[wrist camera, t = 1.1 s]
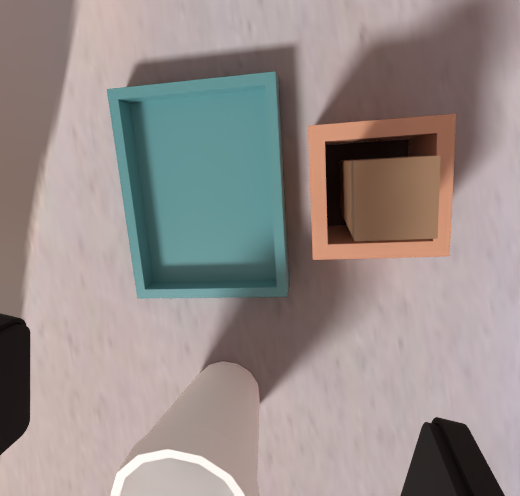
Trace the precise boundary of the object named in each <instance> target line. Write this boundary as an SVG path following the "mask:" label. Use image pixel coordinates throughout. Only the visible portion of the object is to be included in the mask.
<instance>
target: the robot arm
mask: <svg viewBox="0 0 520 496" xmlns="http://www.w3.org/2000/svg"><path fill="white" fill-rule="evenodd" d="M29 422H30V329H29V328H28V327H27V326H26V323H25V321H24V320H23V319H21V318H17V317H13V316H9V315H4V314H0V455H1V454H2V453H3V452H4V451H5V450H6V449H8V448H9V447H10V446H11V445H12V444H13V443H14V442H15V441H16V440H18V439H19V438H20V437H21V436H22V435H23V434H24V432H25V431H26V429H27V427H28V425H29ZM401 496H505V495H504V493H503V492H502V490H501V488H500V486H499V484H498V482H497V480H496V479H495V477H494V475H493V473H492V471H491V469H490V467H489V466H488V464H487V462H486V460H485V458H484V456H483V454H482V453H481V451H480V449H479V447H478V445H477V443H476V441H475V440H474V438H473V436H472V434H471V432H470V430H469V428H468V427H467V426H466V425H465V424H463V423H459V422H455V421H450V420H446V419H442V418H438V417H436V418H434V419H433V421H432V423H428V422H425V423H424V424H423V426H422V428H421V432H420V435H419V438H418V441H417V444H416V448H415V451H414V454H413V457H412V461H411V464H410V467H409V470H408V473H407V477H406V480H405V483H404V486H403V490H402V493H401Z"/></svg>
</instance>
